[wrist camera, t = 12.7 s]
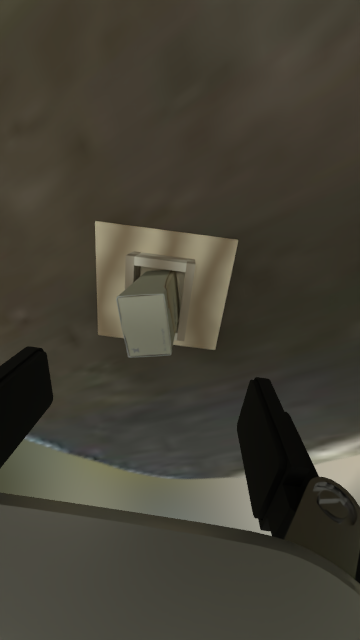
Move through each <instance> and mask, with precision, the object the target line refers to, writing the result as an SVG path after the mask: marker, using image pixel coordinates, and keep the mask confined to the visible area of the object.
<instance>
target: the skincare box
mask: <svg viewBox="0 0 360 640" xmlns="http://www.w3.org/2000/svg"><path fill="white" fill-rule="evenodd" d="M116 301H117V307H118V312H119V317H120V322H121V328H122V332H123V336H124V341H125V345H126V349H127V354H128V357H129V358H130V357H151V356H166V355H171V353H172V347H173V342H174V337H175V332H176V327H177V322H178V318H179V313H180V307H179V293H178V283H177V274H176V271H173V270H156V271H146V272H145V273H144V274H143V275H142V276H140V277H139V278H138V279H137V280H136V281H135V282H134V283H132V284H131V285H130V286H129V287H128V288H127V289H126V290H124V291H123V292H122V293H121V294H120V295H119V296H117V298H116Z"/></svg>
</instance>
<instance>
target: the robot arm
mask: <svg viewBox="0 0 360 640" xmlns="http://www.w3.org/2000/svg"><path fill="white" fill-rule="evenodd" d="M52 401H53V393H52V386H51V379H50V373H49V366H48V360H47V354H46V352H44V351H43V349H42V348H37V347H26V348H24V349H23V350H21V351H20V352H19V353H17V354H16V355H15V356H13V357H12V358H11V359H9V360H8V361H7V362H5V363H4V364H2V365H1V366H0V468H1V467H2V465H3V464H4V463H5V462H6V461H7V459H8V458H9V457H10V455H11V454H12V453H13V452H14V450H15V449H16V448H17V446H18V445H19V444H20V443H21V442H22V440H23V439H24V438H25V437H26V435H27V434H28V433H29V432H30V430H31V429H32V428H33V427H34V425H35V424H36V423H37V422H38V420H39V419H40V418H41V417H42V415H43V414H44V413H45V412H46V410H47V409H48V408H49V407H50V405H51V403H52ZM237 432H238V438H239V443H240V448H241V454H242V459H243V464H244V469H245V475H246V480H247V485H248V490H249V495H250V501H251V506H252V511H253V515H254V517H255V518H258V519H259V524H260V529H261V530H264V531H271V534H272V536H269V535H264V534H260V533H256V532H252V531H246V530H241V529H235V528H229V527H223V526H218V525H211V524H206V523H200V522H194V521H187V520H181V519H174V518H168V517H161V516H155V515H148V514H142V513H135V512H129V511H122V510H116V509H109V508H102V507H95V506H89V505H82V504H75V503H68V502H62V501H55V500H48V499H41V498H34V497H27V496H19V495H13V494H6V493H0V640H360V507H359V505H358V504H357V502H356V501H355V499H354V498H353V497H352V496H351V494H350V493H349V492H348V491H347V490H346V489H344V488H343V487H342V486H341V485H340V484H338V483H336V482H334V481H333V480H331V479H328V478H325V477H319V476H318V474H317V472H316V469H315V467H314V465H313V463H312V461H311V459H310V457H309V455H308V453H307V450H306V448H305V446H304V444H303V442H302V440H301V438H300V436H299V434H298V432H297V429H296V427H295V425H294V423H293V421H292V419H291V417H290V415H289V414H288V413H287V412H284V410H283V408H282V405H281V403H280V401H279V399H278V397H277V394H276V392H275V390H274V388H273V386H272V384H271V381H270V380H269V379H266V378H258V377H256V378H255V379H254V380H250V383H249V386H248V389H247V393H246V396H245V399H244V403H243V406H242V409H241V413H240V416H239V420H238V423H237Z"/></svg>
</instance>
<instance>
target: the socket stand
mask: <svg viewBox="0 0 360 640" xmlns="http://www.w3.org/2000/svg"><path fill="white" fill-rule="evenodd" d="M95 237H96V275H97V312H98V335H103V336H111V337H119V338H124V336H123V332H122V328H121V322H120V317H119V312H118V307H117V301H116V298H117V296H119V295H120V294H121V293H122V292H123V291H124V290H126V289H127V288H128V287H129V286H130V285H131V284H132V283H134V282H135V281H136V280H137V279H138V278H139V277H140V276H142V275H143V274H144V273H145V272H146V271H156V270H173V271H176V274H177V283H178V293H179V307H180V313H179V318H178V322H177V327H176V332H175V337H174V342H173V345H180V346H187V347H195V348H203V349H210V350H215V348H216V343H217V339H218V334H219V329H220V325H221V320H222V315H223V310H224V306H225V301H226V296H227V292H228V287H229V282H230V277H231V273H232V268H233V263H234V259H235V254H236V249H237V244H238V240H237V239H230V238H222V237H214V236H207V235H199V234H192V233H184V232H176V231H169V230H161V229H154V228H146V227H139V226H131V225H123V224H116V223H108V222H101V221H95Z"/></svg>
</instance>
